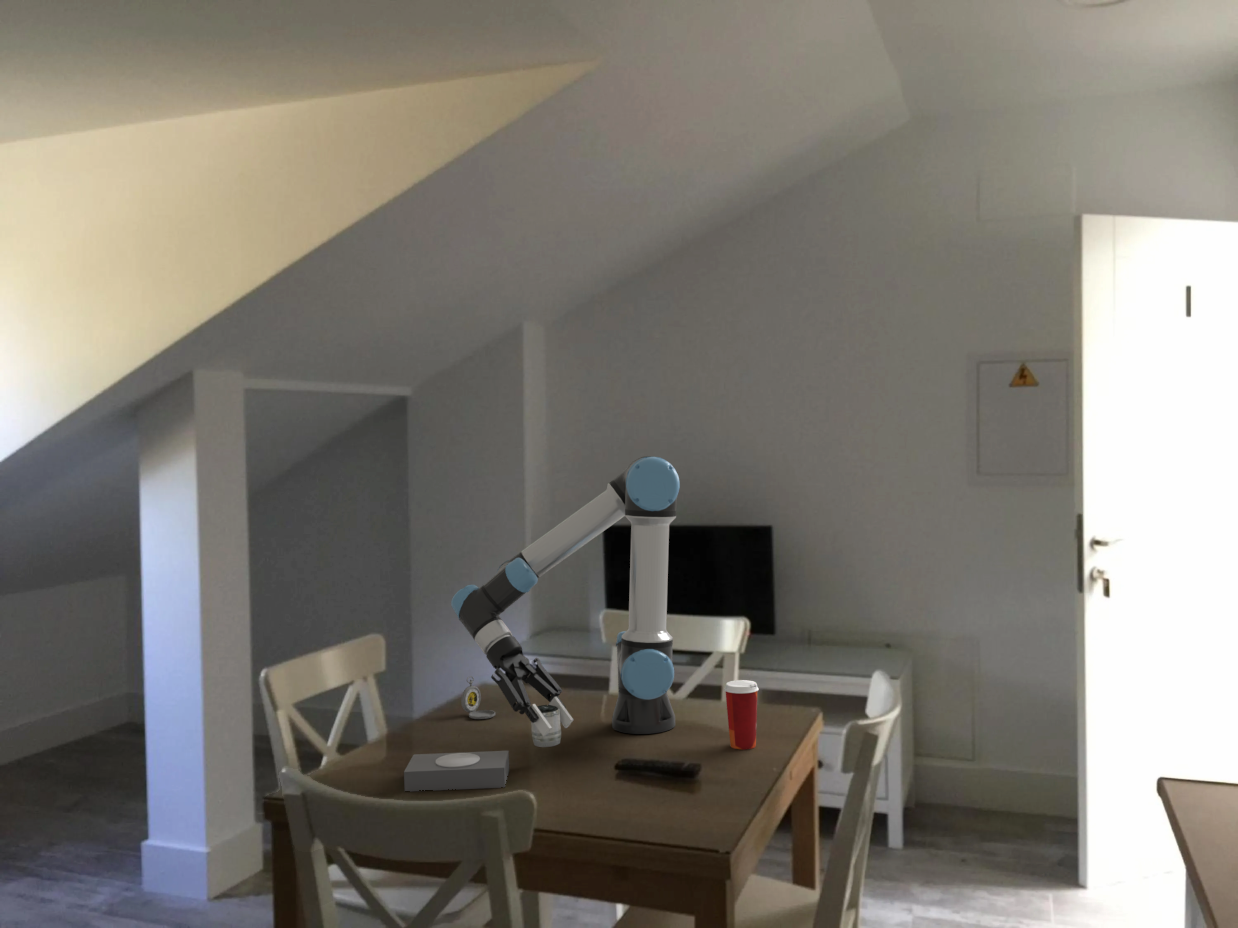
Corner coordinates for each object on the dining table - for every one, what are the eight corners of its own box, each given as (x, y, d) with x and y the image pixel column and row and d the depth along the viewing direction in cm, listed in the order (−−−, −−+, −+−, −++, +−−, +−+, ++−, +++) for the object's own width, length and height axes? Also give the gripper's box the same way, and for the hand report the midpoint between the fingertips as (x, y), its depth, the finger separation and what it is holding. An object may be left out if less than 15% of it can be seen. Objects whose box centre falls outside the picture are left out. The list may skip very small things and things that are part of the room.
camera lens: (548, 737, 238) (546, 701, 238) (567, 742, 234) (565, 705, 234) (526, 744, 234) (524, 707, 234) (545, 749, 229) (543, 712, 229)
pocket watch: (493, 720, 272) (492, 680, 272) (460, 721, 272) (458, 681, 272) (497, 711, 280) (496, 673, 280) (465, 712, 280) (463, 674, 280)
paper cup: (767, 744, 242) (765, 682, 242) (746, 752, 237) (744, 688, 236) (739, 739, 248) (737, 677, 247) (718, 746, 242) (716, 684, 242)
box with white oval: (509, 769, 231) (508, 748, 231) (504, 787, 219) (504, 765, 219) (414, 773, 230) (413, 752, 230) (404, 791, 218) (403, 770, 218)
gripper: (521, 648, 250) (579, 727, 241) (459, 664, 235) (519, 750, 226) (537, 627, 247) (596, 706, 237) (475, 642, 232) (536, 728, 222)
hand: (558, 727), depth 231 cm, fingers closed on camera lens, 6 cm apart
